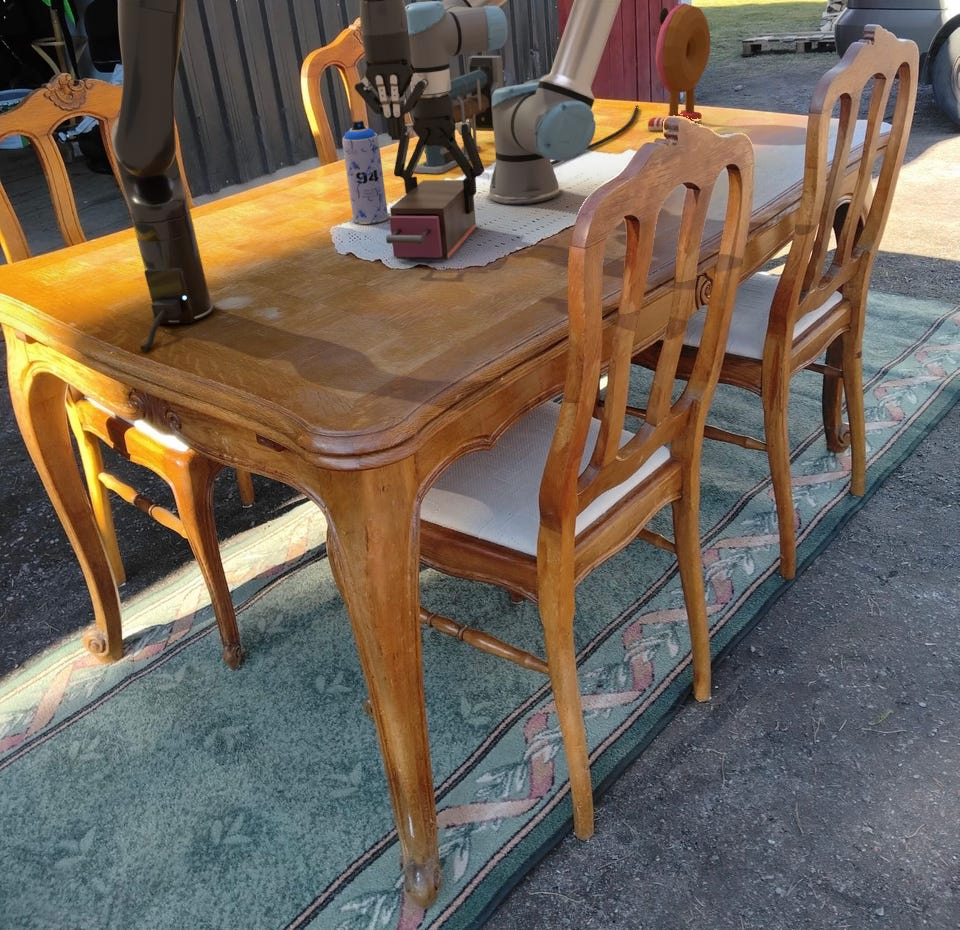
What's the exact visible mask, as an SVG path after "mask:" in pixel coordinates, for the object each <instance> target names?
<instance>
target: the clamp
mask: <svg viewBox="0 0 960 930" xmlns="http://www.w3.org/2000/svg"><path fill="white" fill-rule="evenodd" d="M467 69H468V73H467V72H466V73H465V74H462V75H460V76H457V77H454V78H452V79H451V78H450V82H451V90H450V91H449V92H448V93H450V94H451V95H452V101H457V102H455V103H452V104H453V117H454V120H455V121H456V123H465V122H467V120H468V122H470V123H471V130H472V137H473V140H474V142H475V145H476V148H477V151H478V152H479V151H481V150H482V148H481V146H480V145H478V142H477V141H478V139H477V131H478V132H479V131H480V132H494V126H493V112H492V95H493V92H494V91H495V90H497V89H499V88H504V75H503V74H504V73H503V60H502V56H501V55H471V56H468V57H467ZM453 137H454V138H455V140H456V141H457V139H456V130H455V131H454V133H453ZM461 151H462V152H463V154H464V155H465V157H466V158H467V160H468V161H470V159H469V156H468V153H467V151H466V148H465V145H464V144H463V146H462V147H461ZM423 153H424V155H425V161H424V162H421V163H418V164H417V166H416V169H415V171H414V173H419V174H420V173H421V174H435V175H436V174H443V173H445V172H447V171H449V170H451V169H453V168H455V167H458V166H459V165H458V164H457V162H456V161H455V159H454V158H453V156H452V155H451V153H450V152H449V150H447V149H446V147H445V146H444V145H443V146H436V145H434V146H426V147H425V149H424V151H423Z"/></svg>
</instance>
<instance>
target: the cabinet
mask: <svg viewBox="0 0 960 930" xmlns="http://www.w3.org/2000/svg"><path fill="white" fill-rule="evenodd" d="M463 180H464V179H436V180H435V179H433V180H430V179H423V180H422V181H421V182H419V183H417V184H418V185H417V186H416V187H415V188H413V189H412V190H411V191H410V192H409V193H407V194H406V193H405V195H403V197H402V198H400V199H399V200H398V201H397V202H395V204H393V205H392V206H391V207H390V208H389V211H390V217H391V216H400V214H438V216H439V225H440V235H441V246H442V256H441V257H395V258H396V259H399V258H400V259H401V258H402V259H442V260H443V259H446V260H447V259H448V260H449V259H450V257H451V256H452V255H453V254H454V253H455V252H456V250H458V248H459V247H460V246H461V245H462V244H463V243H464V242H465V240H466V239H467V238H468V237H469V236H470V235H471V234H472V233H473V232H474V230H475V229H476V228H477V222H476V209H475V198H474V197H475V195H474V196H472V200H473V211H472V212H471V213H470V214H466V210H465V198H464V187H463Z"/></svg>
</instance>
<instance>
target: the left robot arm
mask: <svg viewBox="0 0 960 930" xmlns="http://www.w3.org/2000/svg"><path fill="white" fill-rule="evenodd" d="M185 7H186V0H117V17H118V18H117V23H118V36H119V37H118V38H119V47H120V55H121V64H122V90H121V99H120V107H119V113H118V117H117V118H116V119H115V120H114V122H113V125H112V126H111V130H110V141H111V148H112V150H113V154H114V159H115V162H116V165H117V169H118V174H119V176H120V181H121V184H122V189H123V192H124V196H125V200H126V204H127V207H128V211H129V214H130V218H131V221H132V225H133V229H134V233H135V237H136V240H137V245H138V248H139V253H140V256H141V260H142V264H143V267H144V271H143V272H144V276H145V280H146V283H147V284H146V285H147V288H148V293H149V297H150V300H151V305H150V306H151V309H152V310H151V311H152V314H153V317H154V321H153V323H152V324H151V327H150V330H149V333H148V336H147V340H145V342H144V343H143V344H142V345H141V346H140V350H141V351H142V352H145V351H146V350H148V349H150V348H151V346H152V345H153V342H154V340H155V335H156V332H157V330H158V328H159V325H188V324H189V325H192V324H194V323H195V322H196V321H199V320H201V319H203V318H206V317H207V316H209V315H211V314H212V312H213V311H214V307H213V303H212V301H211V296H210V292H209V287H208V284H207V279H206V274H205V270H204V265H203V262H202V261H203V260H202V257H201V252H200V248H199V244H198V239H197V235H196V231H195V225H194V221H193V218H192V213H191V210H190V205H189V204H190V203H189V199H188V196H187V193H186V192H187V191H186V189H185V185H184V182H183V179H182V175H181V170H180V165H179V162H178V158H177V154H176V153H177V140H176V123H175V87H176V77H177V71H178V67H179V66H178V65H179V58H180V53H181V46H182V38H183V27H184V20H185ZM405 7H406V5H405V1H404V0H359V21H360V25H359V27H360V30H361V36H362V45H363V51H364V59H365V65H366V66H365V70H364V77H363V78H362V79H361V80H360V81H359V82H357V83H355V84H354V90H355V91H356V92H357V93H358V95H359V96H360V97H361V98H362V100H364V102H365V103H366V104H367V105H368V107H369V108H370V109H371V110H372V112H373V113H375V115H382V116H383V117H385V121H386V130H387V135H388V137H390V138H391V140H392V141H400V140H401V139H402V138H403V136H404V135H405V134H406V126H405V123H406V117H405V115H406V114H409V113H411V112H413V109H414V108H415V106H416V104H417V103H418V101H419V99H420V97H421V96H422V94H423V92H424V91H425V89H426V87H427V86H428V80H427V79H422V78H420V77H419V76H418V75H416V74H415V69H414V67H413V65H412V63H411V53H410V43H409V34H408V24H407V15H406V9H405ZM411 81H412V89H413V92H412V93H411V92H410V95H409V97H408V99H406V92H407V91H408V88H409V87H410V83H411ZM373 89H374V90H375V91H376V93H377V94H378V95H379V97H378V95H377V94H376V93H375V92H374V91H373ZM405 101H406V102H405Z"/></svg>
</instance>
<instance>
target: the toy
mask: <svg viewBox="0 0 960 930" xmlns="http://www.w3.org/2000/svg"><path fill="white" fill-rule="evenodd" d="M659 23H660V25H661V26H660V29H659V33H658V36H657V40H656V49H655V57H654V59H655V65H656V70H657V73H658V76H659V77H658V78H659V80H660V81H661V82H660V83H661V84H662V86H664V88H665V90H666V91H668V92H669V98H668V99H669V100H668V103H669V104H668V108H669V109H668V110H669V111H668V115H667V117H668V116H673V115H675V116H683V117H686V118H688V117H689V118H688V119H690V120H691V121H694V120H692V119H697V118H698V119H701V120H699V121H694V122H696V123H695V124H699V123H702V115H703V114H702V113H701V112H699V111H695V94H696V93H695V92H696V85H697V84H699V82H700V79H701V77H702V76H703V73H704V72H705V70H706V68H707V66H708V61H709V58H710V57H709V56H710V52H711V33H710V29H709V23H708V19H707V16H705V14H704V12H703V10H702V8H700V7H698V6H695V5H691V4H688V3H685V2H683V3H678V4H677V5H676V6H675V7H673V8H672V9H671V10H670V11H669V10H668V8H667V7H663V8H662V9H661V10H660V13H659ZM680 93H684V95H685V96H684V99H685V100H684V102H685V103H684V106H685V107H684V108H685V109H683V110H681V113H680V114H683V115H680V114H678V109H679V103H680V102H679V99H680V98H679V97H680ZM687 116H688V117H687ZM665 118H666V117H651V118H650V119H649V120H648V122H647V129H648V130H649V131H664V130H663V121H664V119H665ZM691 118H692V119H691Z"/></svg>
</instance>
